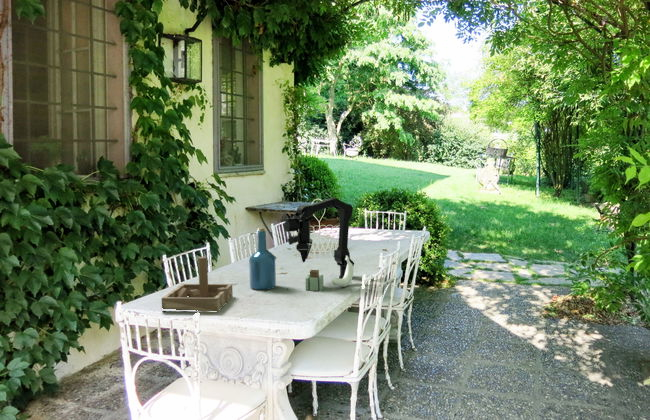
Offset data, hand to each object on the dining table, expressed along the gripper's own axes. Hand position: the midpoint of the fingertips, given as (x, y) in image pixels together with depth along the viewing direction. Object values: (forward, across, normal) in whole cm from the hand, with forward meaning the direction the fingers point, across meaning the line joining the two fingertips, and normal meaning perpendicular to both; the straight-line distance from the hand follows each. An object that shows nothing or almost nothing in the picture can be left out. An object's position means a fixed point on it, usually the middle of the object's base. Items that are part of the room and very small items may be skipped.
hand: (304, 260), depth 295 cm
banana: (+12, +6, +20) cm, 24 cm away
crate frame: (+12, +42, -43) cm, 61 cm away
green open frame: (+12, +11, +6) cm, 17 cm away
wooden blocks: (+12, +42, -43) cm, 61 cm away
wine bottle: (+12, +9, -20) cm, 25 cm away
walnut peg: (+12, +11, +6) cm, 17 cm away
